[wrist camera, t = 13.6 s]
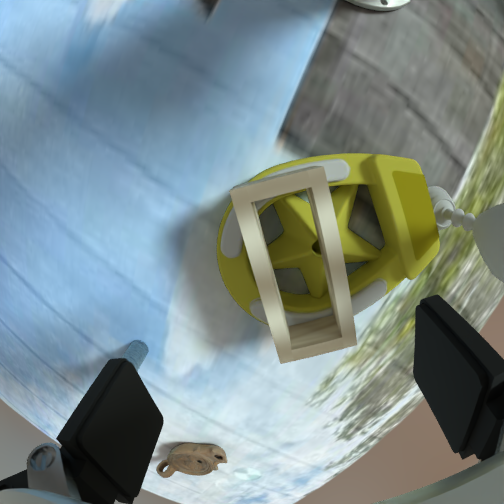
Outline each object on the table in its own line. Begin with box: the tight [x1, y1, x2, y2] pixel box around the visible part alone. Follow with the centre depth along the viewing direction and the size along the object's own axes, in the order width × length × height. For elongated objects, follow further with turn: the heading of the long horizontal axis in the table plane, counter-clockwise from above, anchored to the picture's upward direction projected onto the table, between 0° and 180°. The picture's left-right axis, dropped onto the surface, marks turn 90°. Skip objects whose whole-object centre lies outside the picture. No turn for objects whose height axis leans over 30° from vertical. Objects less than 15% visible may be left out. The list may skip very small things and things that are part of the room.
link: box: [229, 166, 357, 364], centre depth 25 cm, size 15×7×4 cm, turn 16°
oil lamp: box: [156, 443, 227, 478], centre depth 39 cm, size 13×8×5 cm, turn 115°
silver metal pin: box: [122, 340, 148, 371], centre depth 27 cm, size 4×4×16 cm
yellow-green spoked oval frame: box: [217, 154, 440, 326], centre depth 28 cm, size 16×21×5 cm
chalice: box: [428, 186, 504, 282], centre depth 20 cm, size 7×7×18 cm
